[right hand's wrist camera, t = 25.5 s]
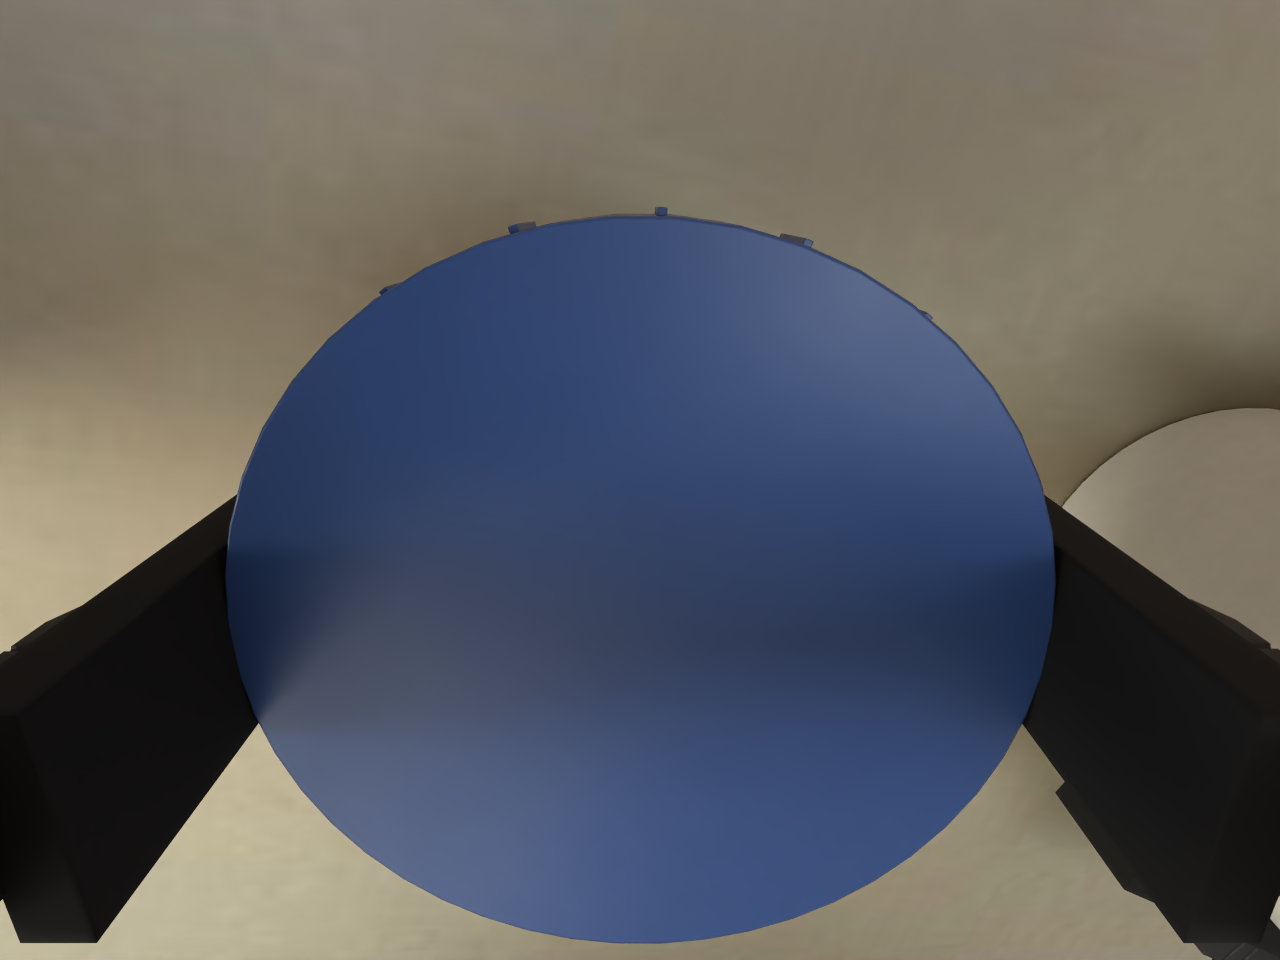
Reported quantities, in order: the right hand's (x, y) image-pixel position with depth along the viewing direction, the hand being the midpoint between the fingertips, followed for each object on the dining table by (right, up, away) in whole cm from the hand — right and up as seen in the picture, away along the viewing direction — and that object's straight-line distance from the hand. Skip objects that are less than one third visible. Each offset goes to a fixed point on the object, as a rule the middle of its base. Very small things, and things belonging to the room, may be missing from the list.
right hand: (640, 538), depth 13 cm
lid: (0, -1, -3) cm, 3 cm away
